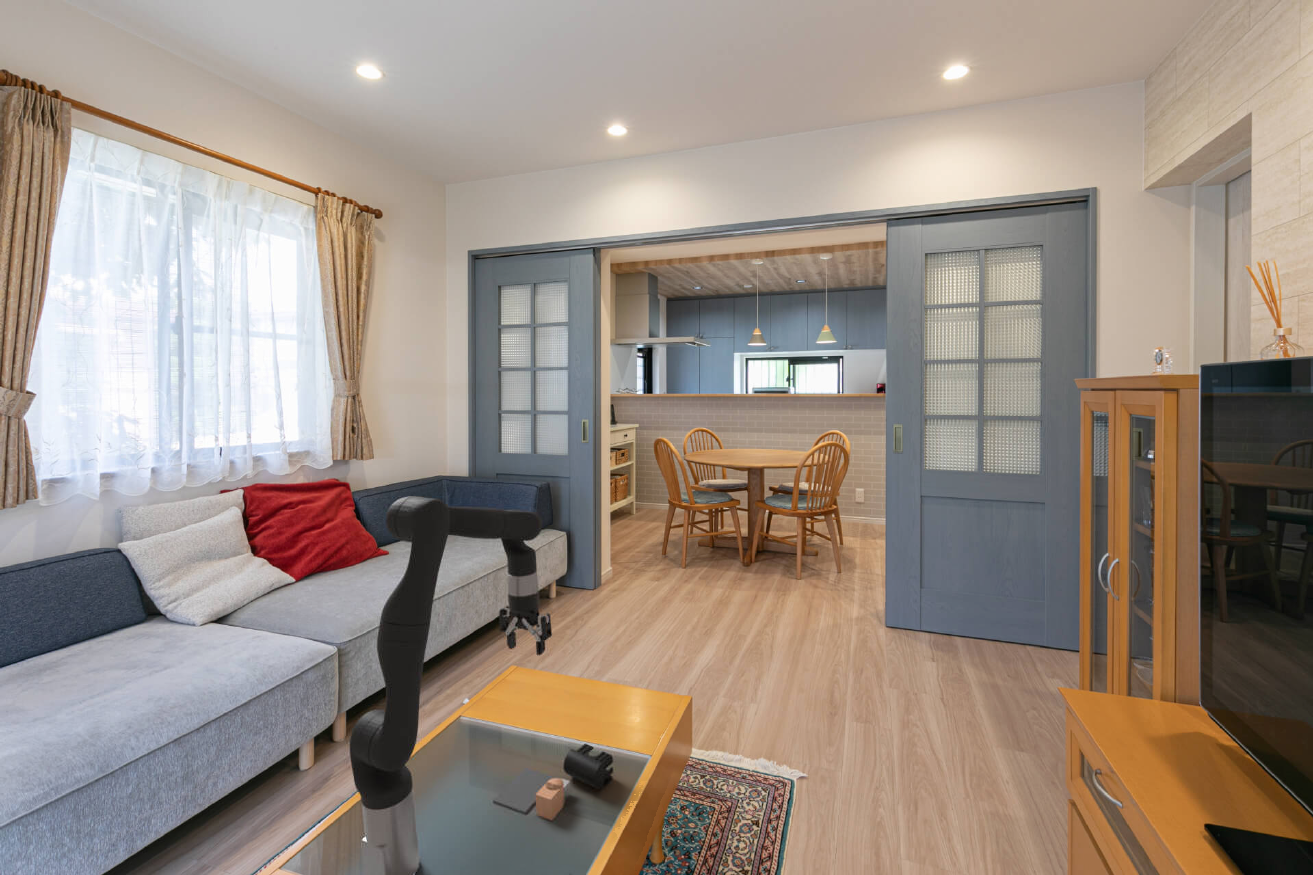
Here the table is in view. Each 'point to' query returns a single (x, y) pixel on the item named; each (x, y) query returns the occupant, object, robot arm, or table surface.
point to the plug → (551, 797)
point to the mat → (522, 790)
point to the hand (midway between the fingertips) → (526, 650)
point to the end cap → (589, 766)
